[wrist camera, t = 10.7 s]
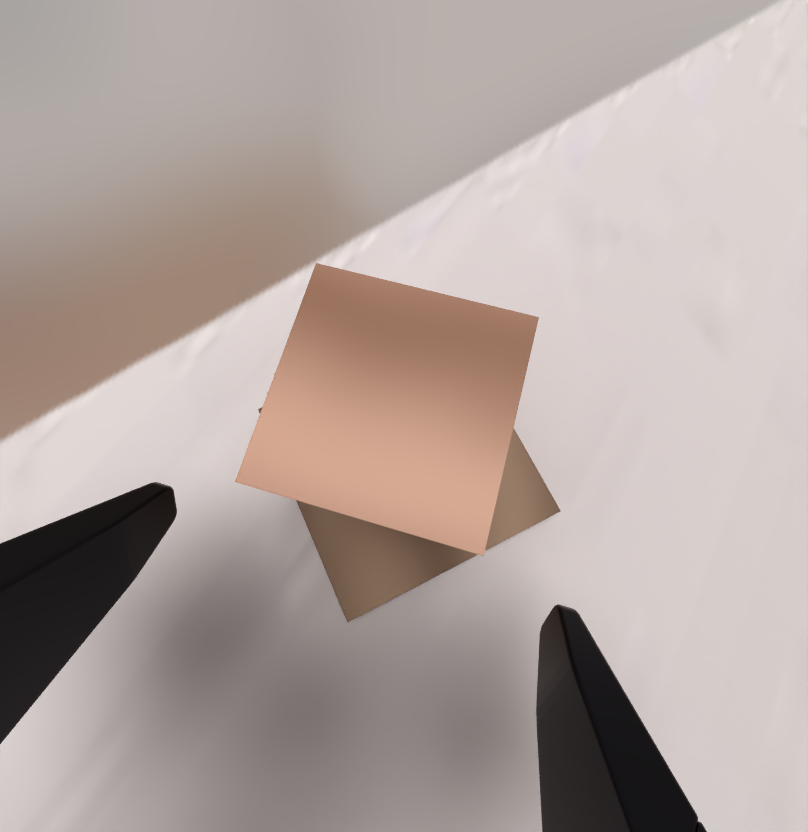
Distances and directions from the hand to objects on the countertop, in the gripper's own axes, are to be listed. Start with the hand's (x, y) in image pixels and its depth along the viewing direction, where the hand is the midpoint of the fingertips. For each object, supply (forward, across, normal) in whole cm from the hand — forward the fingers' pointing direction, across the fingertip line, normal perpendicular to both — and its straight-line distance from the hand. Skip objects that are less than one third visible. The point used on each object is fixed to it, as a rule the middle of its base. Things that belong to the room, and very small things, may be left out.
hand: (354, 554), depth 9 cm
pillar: (+8, 0, +4) cm, 9 cm away
